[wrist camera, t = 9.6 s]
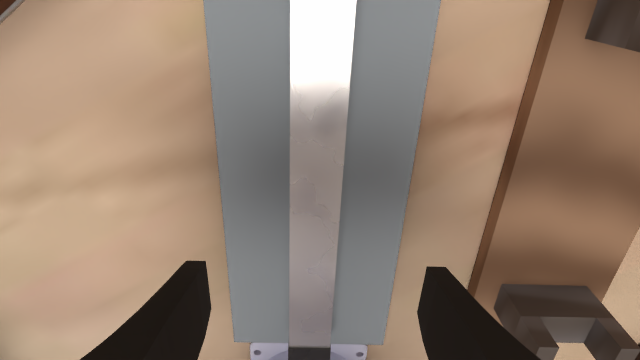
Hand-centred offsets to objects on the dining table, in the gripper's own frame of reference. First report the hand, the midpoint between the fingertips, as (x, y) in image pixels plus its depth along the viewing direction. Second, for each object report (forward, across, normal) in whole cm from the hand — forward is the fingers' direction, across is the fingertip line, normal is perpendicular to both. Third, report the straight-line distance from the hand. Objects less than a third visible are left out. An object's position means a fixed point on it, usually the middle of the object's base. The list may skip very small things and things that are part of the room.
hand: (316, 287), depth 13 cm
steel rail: (+8, 0, 0) cm, 8 cm away
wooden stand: (+9, -14, 0) cm, 17 cm away
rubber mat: (+9, 0, 0) cm, 9 cm away
